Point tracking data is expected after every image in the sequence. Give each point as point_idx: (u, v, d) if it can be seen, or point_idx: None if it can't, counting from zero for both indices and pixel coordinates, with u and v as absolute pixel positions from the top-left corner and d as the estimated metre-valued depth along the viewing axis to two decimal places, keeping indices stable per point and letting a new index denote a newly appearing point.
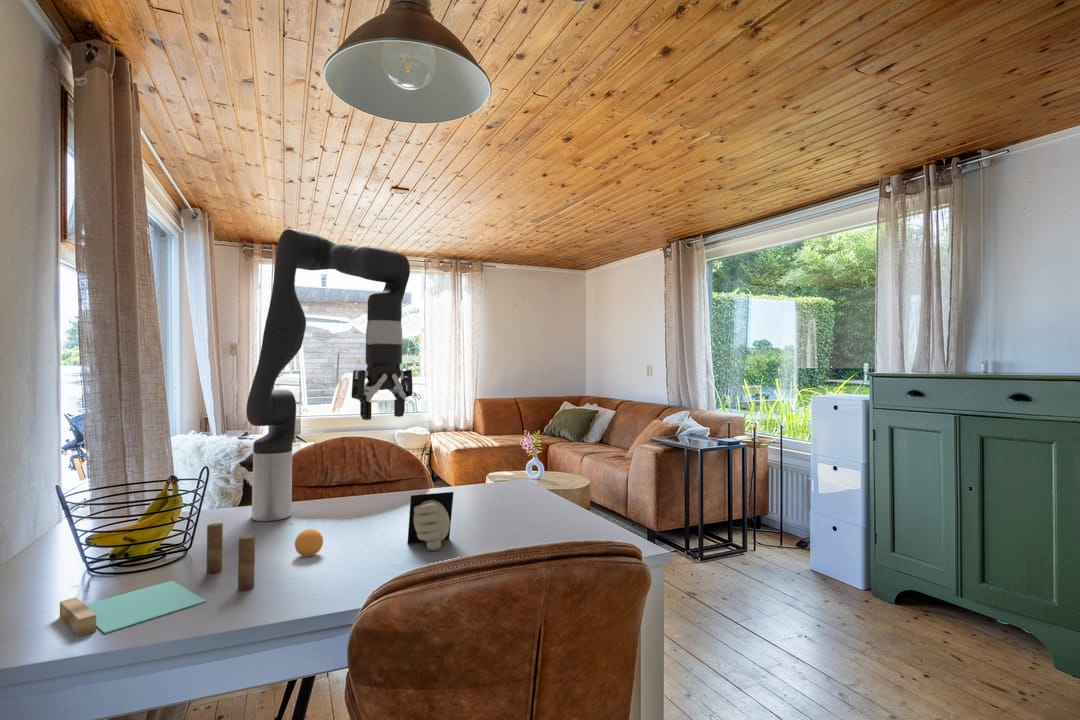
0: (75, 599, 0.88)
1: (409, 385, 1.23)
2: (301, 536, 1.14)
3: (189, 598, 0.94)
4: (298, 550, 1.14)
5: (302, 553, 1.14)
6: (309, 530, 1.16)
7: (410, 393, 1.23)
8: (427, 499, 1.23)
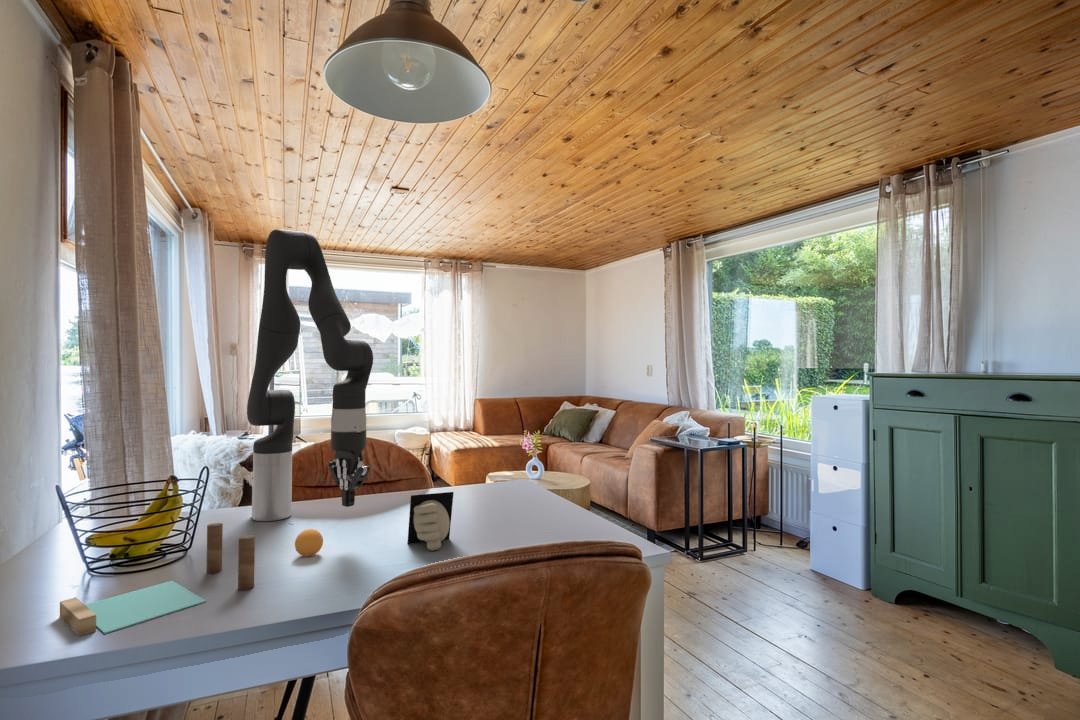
0: (75, 599, 0.88)
1: None
2: (301, 536, 1.14)
3: (189, 598, 0.94)
4: (298, 550, 1.14)
5: (302, 553, 1.14)
6: (309, 530, 1.16)
7: None
8: (427, 499, 1.23)
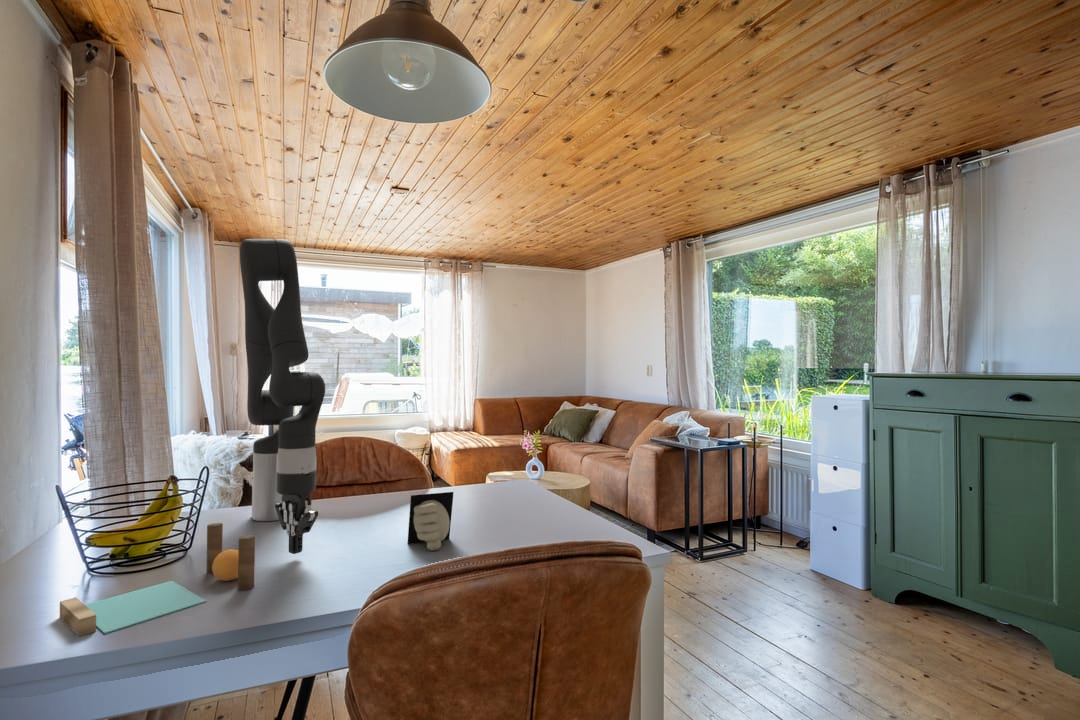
0: (75, 599, 0.88)
1: None
2: (232, 550, 1.03)
3: (189, 598, 0.94)
4: (217, 560, 1.01)
5: (216, 565, 1.01)
6: None
7: None
8: (427, 499, 1.23)
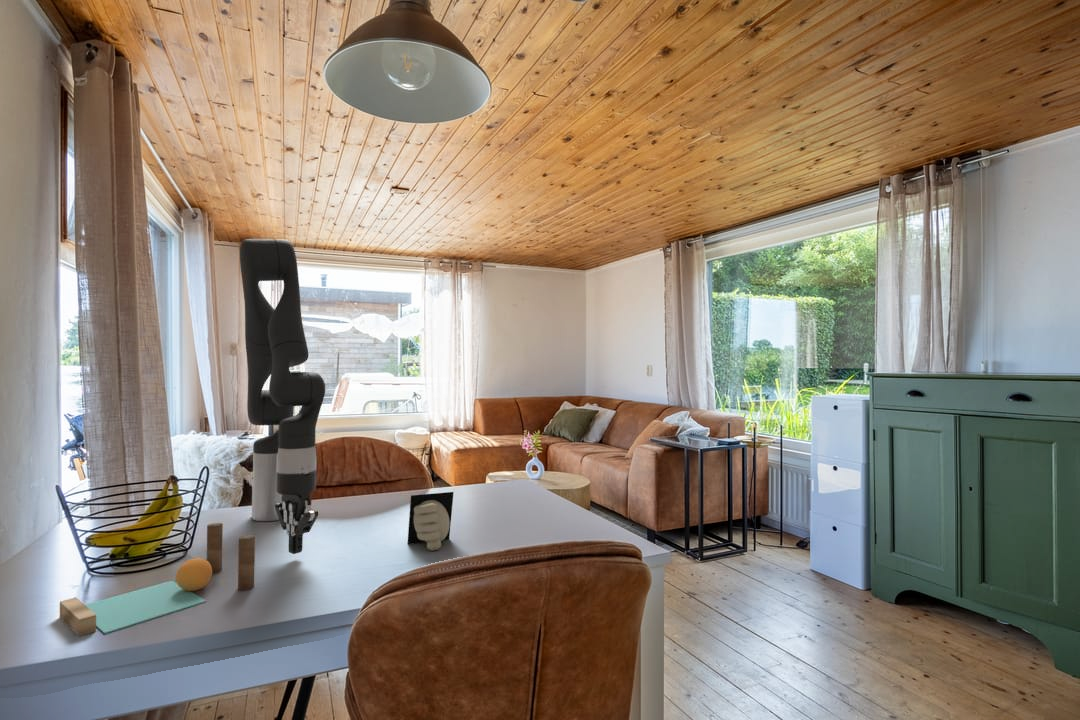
0: (75, 599, 0.88)
1: None
2: (180, 586, 0.96)
3: (189, 598, 0.94)
4: None
5: None
6: (179, 574, 0.96)
7: None
8: (427, 499, 1.23)
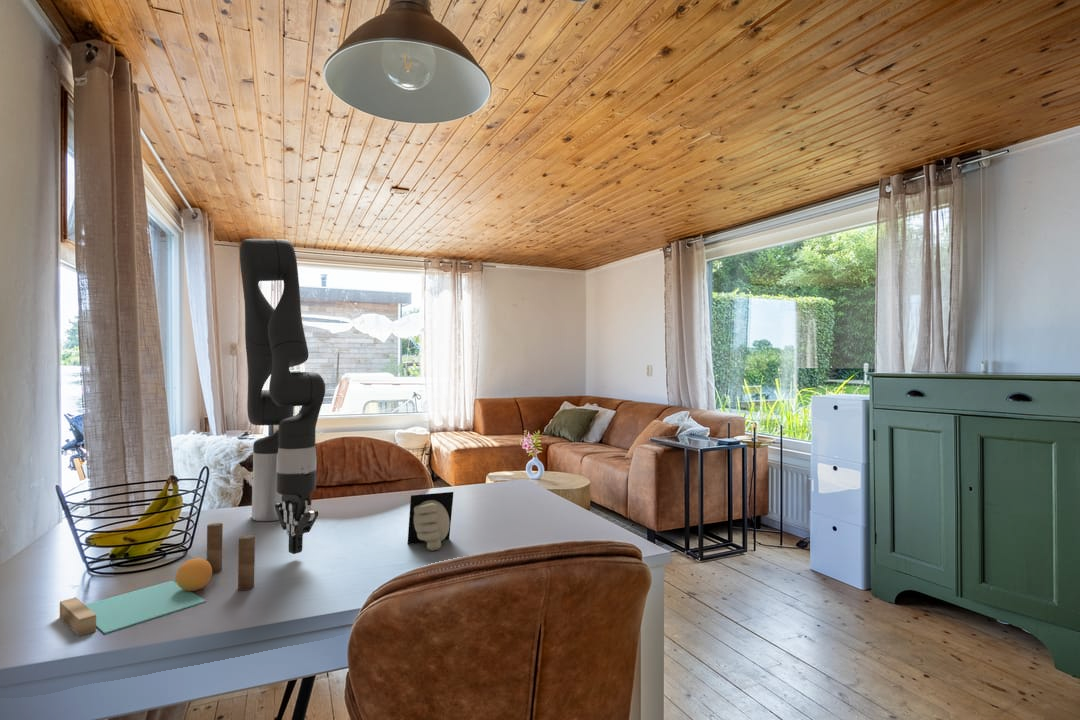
0: (75, 599, 0.88)
1: None
2: (180, 586, 0.96)
3: (189, 598, 0.94)
4: None
5: None
6: (179, 574, 0.96)
7: None
8: (427, 499, 1.23)
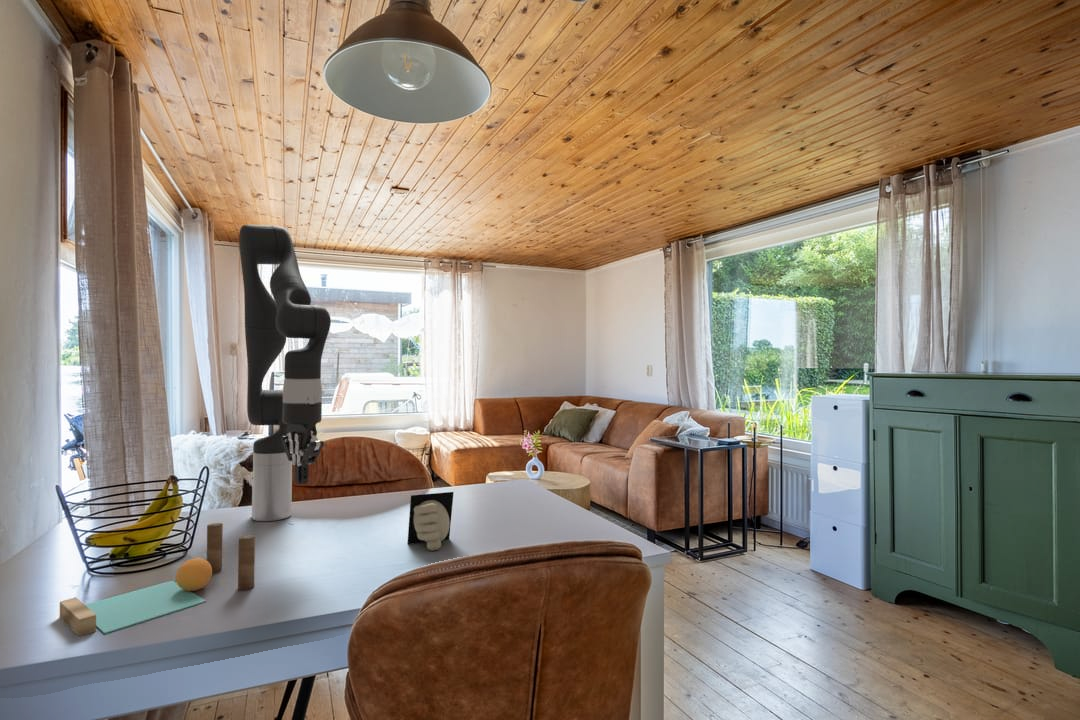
0: (75, 599, 0.88)
1: None
2: (180, 586, 0.96)
3: (189, 598, 0.94)
4: None
5: None
6: (179, 574, 0.96)
7: None
8: (427, 499, 1.23)
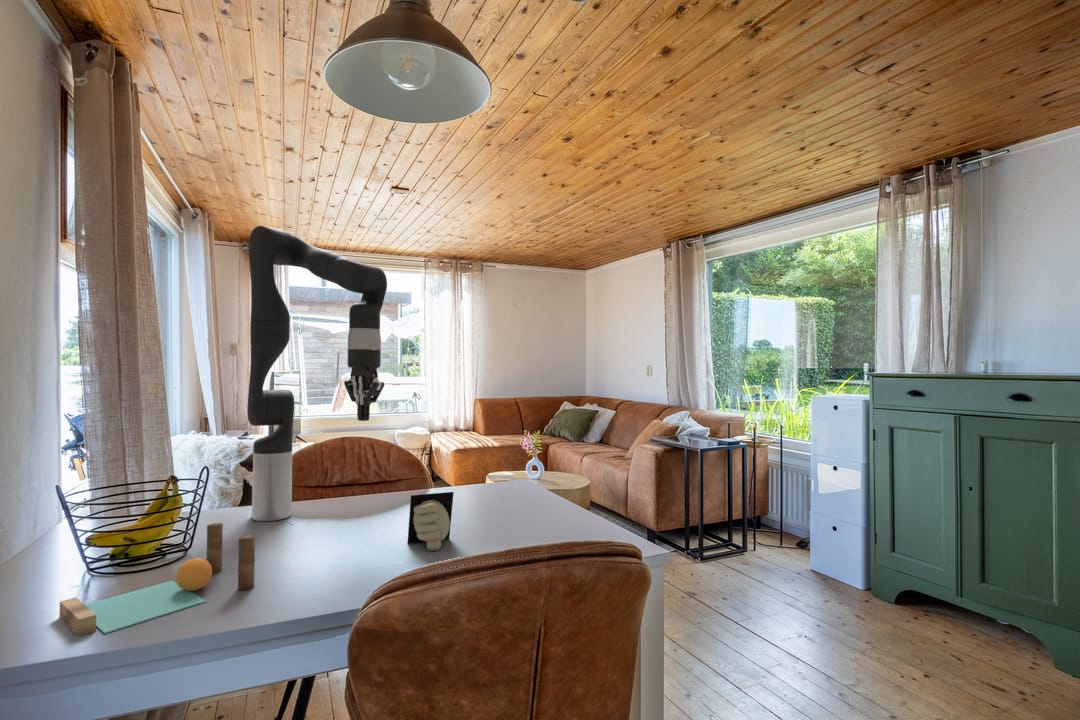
0: (75, 599, 0.88)
1: None
2: (180, 586, 0.96)
3: (189, 598, 0.94)
4: None
5: None
6: (179, 574, 0.96)
7: None
8: (427, 499, 1.23)
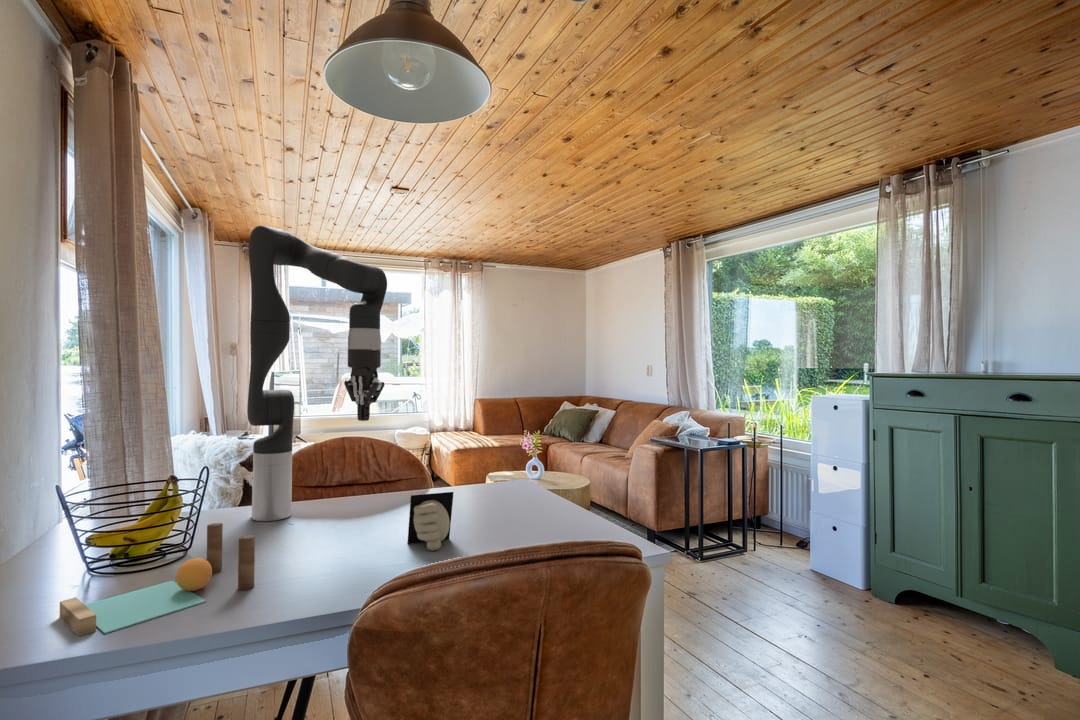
0: (75, 599, 0.88)
1: None
2: (180, 586, 0.96)
3: (189, 598, 0.94)
4: None
5: None
6: (179, 574, 0.96)
7: None
8: (427, 499, 1.23)
